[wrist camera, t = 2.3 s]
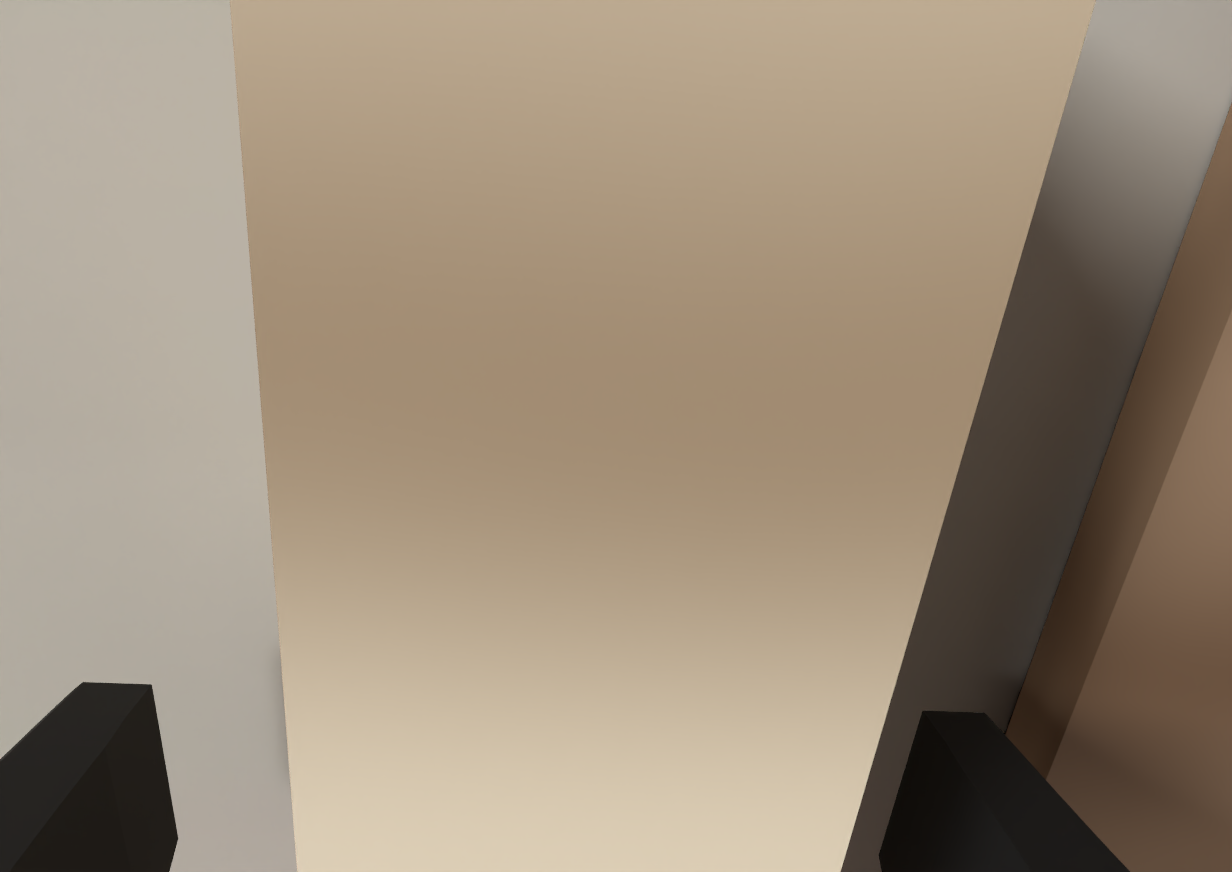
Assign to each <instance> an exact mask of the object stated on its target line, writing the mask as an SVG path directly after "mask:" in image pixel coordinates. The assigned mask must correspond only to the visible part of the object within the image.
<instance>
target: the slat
mask: <svg viewBox="0 0 1232 872" xmlns="http://www.w3.org/2000/svg"><path fill="white" fill-rule="evenodd" d="M1095 2H1096V0H230V8H231V21H232V34H233V47H234V60H235V73H236V86H237V99H238V112H239V125H240V138H241V151H242V164H243V177H244V190H245V203H246V216H247V228H248V241H249V254H250V267H251V280H252V293H253V306H254V319H255V332H256V345H257V358H258V371H259V384H260V397H261V410H262V423H263V435H264V448H265V461H266V474H267V487H268V500H269V513H270V526H271V539H272V552H273V565H274V578H275V591H276V604H277V617H278V630H279V643H280V655H281V668H282V681H283V694H284V707H285V720H286V733H287V746H288V759H289V772H290V785H291V798H292V811H293V824H294V837H295V850H296V863H297V872H841V869H842V865H843V862H844V858H845V855H846V852H847V848H848V845H849V841H850V838H851V834H852V831H853V828H854V824H855V821H856V817H857V814H858V811H859V807H860V804H861V800H862V797H863V794H864V790H865V787H866V783H867V780H868V776H869V773H870V770H871V766H872V763H873V759H874V756H875V753H876V749H877V746H878V742H879V739H880V736H881V732H882V729H883V725H884V722H885V718H886V715H887V712H888V708H889V705H890V701H891V698H892V695H893V691H894V688H895V684H896V681H897V678H898V674H899V671H900V667H901V664H902V660H903V657H904V654H905V650H906V647H907V643H908V640H909V637H910V633H911V630H912V626H913V623H914V620H915V616H916V613H917V609H918V606H919V602H920V599H921V596H922V592H923V589H924V585H925V582H926V579H927V575H928V572H929V568H930V565H931V561H932V558H933V555H934V551H935V548H936V544H937V541H938V538H939V534H940V531H941V527H942V524H943V521H944V517H945V514H946V510H947V507H948V503H949V500H950V497H951V493H952V490H953V486H954V483H955V480H956V476H957V473H958V469H959V466H960V463H961V459H962V456H963V452H964V449H965V445H966V442H967V439H968V435H969V432H970V428H971V425H972V422H973V418H974V415H975V411H976V408H977V405H978V401H979V398H980V394H981V391H982V387H983V384H984V381H985V377H986V374H987V370H988V367H989V364H990V360H991V357H992V353H993V350H994V347H995V343H996V340H997V336H998V333H999V329H1000V326H1001V323H1002V319H1003V316H1004V312H1005V309H1006V306H1007V302H1008V299H1009V295H1010V292H1011V288H1012V285H1013V282H1014V278H1015V275H1016V271H1017V268H1018V265H1019V261H1020V258H1021V254H1022V251H1023V248H1024V244H1025V241H1026V237H1027V234H1028V230H1029V227H1030V224H1031V220H1032V217H1033V213H1034V210H1035V207H1036V203H1037V200H1038V196H1039V193H1040V190H1041V186H1042V183H1043V179H1044V176H1045V172H1046V169H1047V166H1048V162H1049V159H1050V155H1051V152H1052V149H1053V145H1054V142H1055V138H1056V135H1057V132H1058V128H1059V125H1060V121H1061V118H1062V114H1063V111H1064V108H1065V104H1066V101H1067V97H1068V94H1069V91H1070V87H1071V84H1072V80H1073V77H1074V74H1075V70H1076V67H1077V63H1078V60H1079V56H1080V53H1081V50H1082V46H1083V43H1084V39H1085V36H1086V33H1087V29H1088V26H1089V22H1090V19H1091V15H1092V12H1093V9H1094V5H1095Z"/></svg>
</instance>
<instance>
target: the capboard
mask: <svg viewBox="0 0 1232 872" xmlns="http://www.w3.org/2000/svg"><path fill="white" fill-rule="evenodd" d="M1005 735H1006V737H1007V738H1008V739H1009V740H1010V741H1011V742H1012V743H1013V744H1014V745H1015V746H1016V748H1017V749H1018V750H1019V751H1020V752H1021V753H1022V754H1023V755H1024V756H1025V757H1026V759H1027V760H1028V761H1029V762H1030V763H1031V764H1032V765H1033V766H1034V767H1035V769H1036V770H1037V771H1038V772H1039V773H1040V774H1041V775H1042V776H1043V777H1044V779H1045V780H1046V781H1047V782H1048V783H1049V784H1050V785H1051V786H1052V787H1053V789H1054V790H1055V791H1056V792H1057V793H1058V794H1059V795H1060V796H1061V797H1062V798H1063V800H1064V801H1065V802H1066V803H1067V804H1068V805H1069V806H1070V807H1071V808H1072V809H1073V810H1074V812H1075V813H1076V814H1077V815H1078V816H1079V817H1080V818H1081V819H1082V820H1083V821H1084V822H1085V824H1086V825H1087V826H1088V827H1089V828H1090V829H1091V830H1092V831H1093V832H1094V833H1095V834H1096V836H1097V837H1098V838H1099V839H1100V840H1101V841H1102V842H1103V843H1104V844H1105V845H1106V846H1107V847H1108V848H1109V850H1110V851H1111V852H1112V853H1113V854H1114V855H1115V856H1116V857H1117V858H1118V859H1119V860H1120V861H1121V862H1122V863H1123V864H1124V866H1125V867H1126V868H1127V869H1128V870H1129V871H1130V872H1232V103H1231V106H1230V109H1229V112H1228V115H1227V117H1226V120H1225V123H1224V126H1223V129H1222V131H1221V134H1220V137H1219V140H1218V142H1217V145H1216V148H1215V151H1214V154H1213V156H1212V159H1211V162H1210V165H1209V168H1208V170H1207V173H1206V176H1205V179H1204V182H1203V184H1202V187H1201V190H1200V193H1199V195H1198V198H1197V201H1196V204H1195V207H1194V209H1193V212H1192V215H1191V218H1190V221H1189V223H1188V226H1187V229H1186V232H1185V235H1184V237H1183V240H1182V243H1181V246H1180V248H1179V251H1178V254H1177V257H1176V260H1175V262H1174V265H1173V268H1172V271H1171V274H1170V276H1169V279H1168V282H1167V285H1166V288H1165V290H1164V293H1163V296H1162V299H1161V301H1160V304H1159V307H1158V310H1157V313H1156V315H1155V318H1154V321H1153V324H1152V327H1151V329H1150V332H1149V335H1148V338H1147V341H1146V343H1145V346H1144V349H1143V352H1142V354H1141V357H1140V360H1139V363H1138V366H1137V368H1136V371H1135V374H1134V377H1133V380H1132V382H1131V385H1130V388H1129V391H1128V394H1127V396H1126V399H1125V402H1124V405H1123V407H1122V410H1121V413H1120V416H1119V419H1118V421H1117V424H1116V427H1115V430H1114V433H1113V435H1112V438H1111V441H1110V444H1109V447H1108V449H1107V452H1106V455H1105V458H1104V460H1103V463H1102V466H1101V469H1100V472H1099V474H1098V477H1097V480H1096V483H1095V486H1094V488H1093V491H1092V494H1091V497H1090V500H1089V502H1088V505H1087V508H1086V511H1085V513H1084V516H1083V519H1082V522H1081V525H1080V527H1079V530H1078V533H1077V536H1076V539H1075V541H1074V544H1073V547H1072V550H1071V553H1070V555H1069V558H1068V561H1067V564H1066V566H1065V569H1064V572H1063V575H1062V578H1061V580H1060V583H1059V586H1058V589H1057V592H1056V594H1055V597H1054V600H1053V603H1052V606H1051V608H1050V611H1049V614H1048V617H1047V619H1046V622H1045V625H1044V628H1043V631H1042V633H1041V636H1040V639H1039V642H1038V645H1037V647H1036V650H1035V653H1034V656H1033V658H1032V661H1031V664H1030V667H1029V670H1028V672H1027V675H1026V678H1025V681H1024V684H1023V686H1022V689H1021V692H1020V695H1019V698H1018V700H1017V703H1016V706H1015V709H1014V711H1013V714H1012V717H1011V720H1010V723H1009V725H1008V728H1007V731H1006V734H1005Z"/></svg>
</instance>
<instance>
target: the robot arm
mask: <svg viewBox="0 0 1232 872" xmlns="http://www.w3.org/2000/svg"><path fill="white" fill-rule="evenodd" d="M177 841H178V835H177V829H176V824H175V818H174V812H173V806H172V800H171V794H170V789H169V783H168V777H167V771H166V765H165V759H164V754H163V748H162V742H161V736H160V730H159V724H158V719H157V713H156V707H155V701H154V695H153V689H152V685H148V684H119V683H89V682H83V683H81V684H80V685H79V686H78V687H77V688H75V689H74V690H73V691H72V692H71V693H70V694H69V695H67V696H66V697H65V698H64V699H63V700H62V701H61V702H60V703H59V704H58V705H57V706H56V707H55V708H54V709H52V710H51V711H50V712H49V713H48V714H47V715H46V716H45V717H44V718H43V719H42V720H41V721H40V722H39V723H38V724H37V725H36V726H35V727H34V728H33V729H31V730H30V731H29V732H28V733H27V734H26V735H25V736H24V737H23V738H22V739H21V740H20V741H19V742H18V743H17V744H16V745H15V746H14V747H13V748H12V749H11V750H10V751H9V752H7V753H6V754H5V755H4V756H3V757H2V758H1V759H0V872H169V871H170V867H171V863H172V859H173V856H174V852H175V848H176V845H177ZM879 859H880V864H881V870H882V872H1130V871H1129V870H1128V869H1127V868H1126V867H1125V866H1124V864H1123V863H1122V862H1121V861H1120V860H1119V859H1118V858H1117V857H1116V856H1115V855H1114V854H1113V853H1112V852H1111V851H1110V850H1109V848H1108V847H1107V846H1106V845H1105V844H1104V843H1103V842H1102V841H1101V840H1100V839H1099V838H1098V837H1097V836H1096V834H1095V833H1094V832H1093V831H1092V830H1091V829H1090V828H1089V827H1088V826H1087V825H1086V824H1085V822H1084V821H1083V820H1082V819H1081V818H1080V817H1079V816H1078V815H1077V814H1076V813H1075V812H1074V810H1073V809H1072V808H1071V807H1070V806H1069V805H1068V804H1067V803H1066V802H1065V801H1064V800H1063V798H1062V797H1061V796H1060V795H1059V794H1058V793H1057V792H1056V791H1055V790H1054V789H1053V787H1052V786H1051V785H1050V784H1049V783H1048V782H1047V781H1046V780H1045V779H1044V777H1043V776H1042V775H1041V774H1040V773H1039V772H1038V771H1037V770H1036V769H1035V767H1034V766H1033V765H1032V764H1031V763H1030V762H1029V761H1028V760H1027V759H1026V757H1025V756H1024V755H1023V754H1022V753H1021V752H1020V751H1019V750H1018V749H1017V748H1016V746H1015V745H1014V744H1013V743H1012V742H1011V741H1010V740H1009V739H1008V738H1007V737H1006V735H1005V734H1004V733H1003V732H1002V731H1001V730H1000V729H999V728H998V727H997V726H996V725H995V724H994V723H993V721H992V720H991V719H990V718H989V717H988V716H987V715H986V714H985V713H974V712H945V711H923V712H922V715H921V718H920V721H919V725H918V728H917V731H916V735H915V738H914V741H913V744H912V748H911V751H910V754H909V757H908V761H907V764H906V767H905V771H904V774H903V777H902V780H901V784H900V787H899V790H898V794H897V797H896V800H895V803H894V807H893V810H892V813H891V816H890V820H889V823H888V826H887V830H886V833H885V836H884V839H883V843H882V846H881V849H880V853H879Z"/></svg>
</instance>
